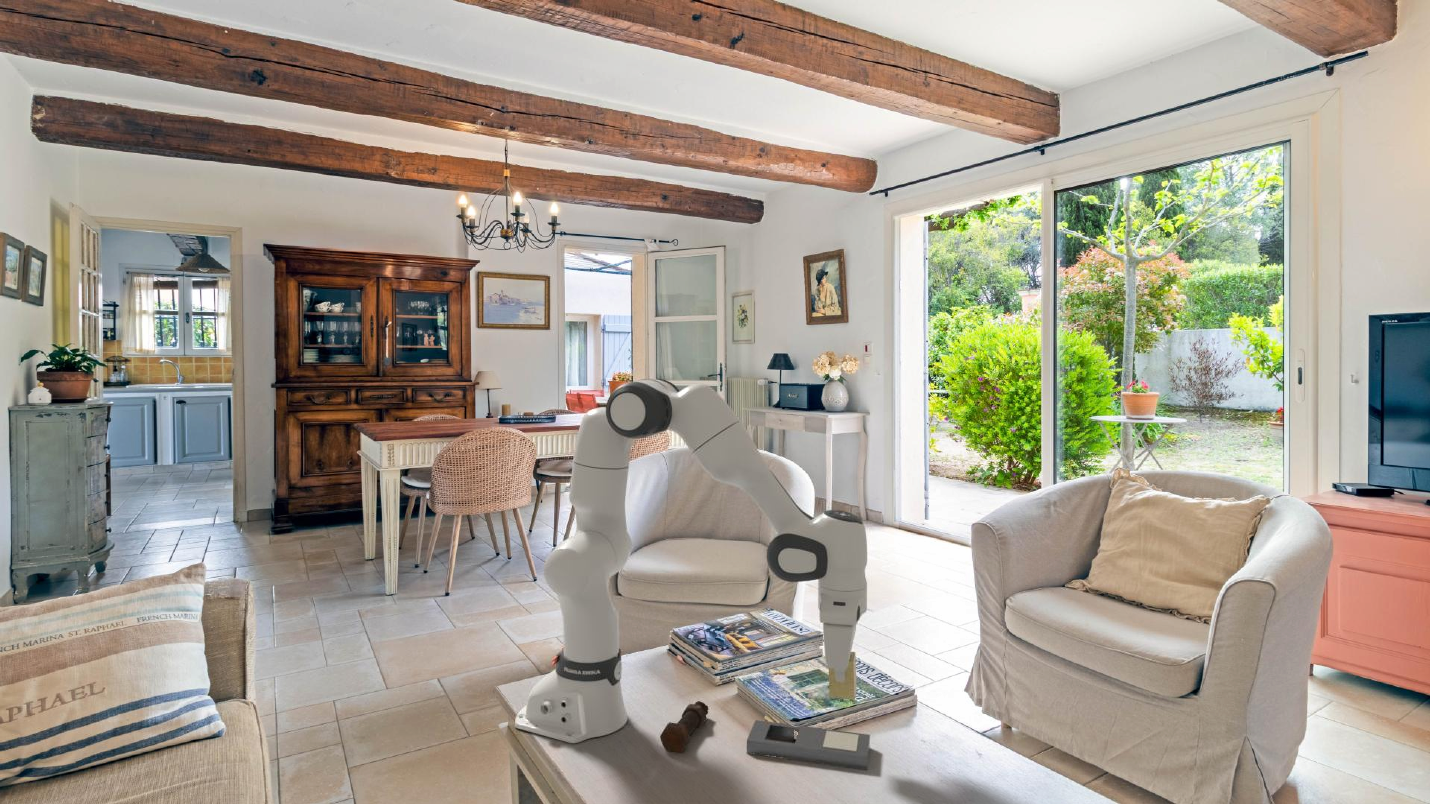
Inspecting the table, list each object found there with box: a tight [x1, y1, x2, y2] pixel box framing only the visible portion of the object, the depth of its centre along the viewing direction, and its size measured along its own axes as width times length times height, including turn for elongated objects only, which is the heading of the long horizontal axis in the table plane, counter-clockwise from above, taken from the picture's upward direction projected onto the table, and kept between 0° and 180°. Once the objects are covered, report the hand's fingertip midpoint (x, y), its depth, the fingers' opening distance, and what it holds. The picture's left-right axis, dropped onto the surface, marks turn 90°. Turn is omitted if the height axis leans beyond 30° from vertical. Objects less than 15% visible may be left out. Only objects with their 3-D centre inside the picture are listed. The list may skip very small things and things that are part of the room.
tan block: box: [828, 651, 857, 701], centre depth 137 cm, size 4×4×7 cm
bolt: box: [659, 700, 709, 754], centre depth 145 cm, size 6×5×15 cm
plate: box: [746, 719, 871, 771], centre depth 139 cm, size 22×8×3 cm, turn 75°
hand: (842, 673), depth 137 cm, fingers closed on tan block, 4 cm apart
